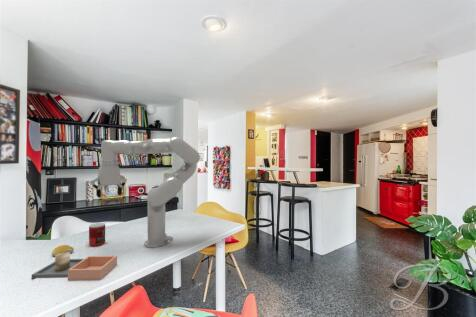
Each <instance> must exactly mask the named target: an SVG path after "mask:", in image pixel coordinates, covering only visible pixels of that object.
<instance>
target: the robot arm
mask: <svg viewBox="0 0 476 317" xmlns="http://www.w3.org/2000/svg"><path fill="white" fill-rule="evenodd" d="M100 149H101V154H100V158H101V159H100V160H101V162H100V163H101V164H100V166H99V167H98V172H97V178H94V179H93V180H90V181H89V183H90V185H91V186H92V187H93V189H95V191H96V192H95V193H96V197H98V198H101V197H102V189H101V188H102V187H103V186H104V187H105V186H117V195H118V196H122V194H123V192H122V191H123V188H124V186H125V185H126V182H128V179H127V178H125V177H123V176H121V169H120V166H119V165H121V161H119V160H118V154H120V155H121V154H122V155H125V156H127V155H142V154H143V155H144V154H146V155H147V154H149V155H153V154H155V155H157V154H169V153H170V154H171V153H175V154H176V155H177V156H179V157H180V158H181V159H182V160H183V162H182V165H181V166H180V167H179V168H178V169H176V171H174V172H173V173H171V174H170V175H169V176H167V177H166V178H165V179H164V181H163V182H162V183H160V185H158V186H157V187H153V188H151V189H150V190H149V191H148V193H147V197H146V198H147V240H146V241H145V242H144V246H145V247H147V248H159V247H163V246H166V245H167V244H168V243H169V242H172V241H173V240H174V239H173V236H168V234H167V233H166V204H167V203H168V202H169V201H170V200H172V199H173V198H174V197H175V196H176V195H177V194H179V192H181V190H182V187H183V185H184V184H186V182H187V181H188V180H189V179H191V177H193V175H194V174H195V172H196V169H197V164H198V163H199V161H200V159H201V156H200V153H199V151H197V150H196V149H195V148H194V147H192V146H191V145H190V144H189V143H188V142H186V141H185V140H184V139H182V138H181V137H179V136H173V137H164V138H163V137H162V138H160V137H159V138H148V139H145V140H137V141H136V140H135V141H133V140H132V141H130V140H128V139H127V140H126V139H121V140H111V139H110V140H108V139H107V140H105V139H104V140H102V141H101V147H100ZM121 181H122V182H121ZM96 182H97V184H96Z"/></svg>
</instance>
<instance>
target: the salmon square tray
mask: <svg viewBox="0 0 476 317" xmlns="http://www.w3.org/2000/svg"><path fill="white" fill-rule="evenodd" d="M83 259H84V260H82V261H81V262H79V263H78V264H76V265H75V266H73V267H72V268H70V269H69V270H68V277H67V281H96V280H97V281H101V280H102V279H103V278H104V277H105V276H106V275H108V274H109V273H110V272H111V271H112V270H113V269H114V268H115V267H116V266H117V265H118V256H117V255H89V256H87V257H85V258H83Z"/></svg>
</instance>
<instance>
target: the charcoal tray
mask: <svg viewBox="0 0 476 317" xmlns="http://www.w3.org/2000/svg"><path fill="white" fill-rule="evenodd" d="M84 259H85V258H70V268H72V267H73V266H75V265H76V264H78V263H79V262H81V261H82V260H84ZM70 268H68V269H66V270H64V271H55V261H52V262H51V263H49V264H48V265H46V266H44V267H43V268H40V269H39V270H38V271H36V272H33V273H32V274H31V280H36V279H39V278H42V279H43V278H46V279H47V278H49V279H50V278H68V270H69V269H70Z"/></svg>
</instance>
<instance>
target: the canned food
mask: <svg viewBox="0 0 476 317" xmlns="http://www.w3.org/2000/svg"><path fill="white" fill-rule="evenodd" d="M105 243H106V223H104V222H98V223H92V224H90V225H88V245H89V247H91V248H93V247H94V248H96V247H101V246H103V245H104V244H105Z"/></svg>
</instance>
